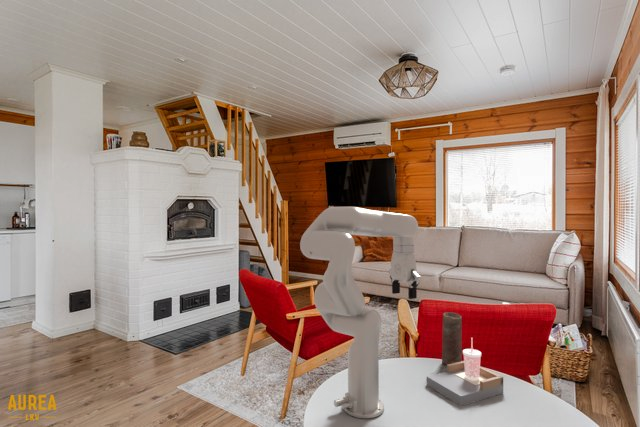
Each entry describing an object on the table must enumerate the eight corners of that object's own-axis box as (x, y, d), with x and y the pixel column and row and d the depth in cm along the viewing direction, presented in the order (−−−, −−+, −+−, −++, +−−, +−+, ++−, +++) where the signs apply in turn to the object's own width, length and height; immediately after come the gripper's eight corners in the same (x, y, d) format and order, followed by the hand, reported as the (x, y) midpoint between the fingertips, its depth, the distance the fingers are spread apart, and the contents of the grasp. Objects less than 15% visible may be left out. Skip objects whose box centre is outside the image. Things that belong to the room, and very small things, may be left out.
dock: (461, 405, 119) (460, 388, 119) (426, 384, 134) (426, 369, 134) (503, 393, 127) (503, 376, 127) (466, 374, 142) (466, 360, 142)
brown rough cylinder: (459, 360, 155) (459, 312, 155) (464, 368, 148) (464, 317, 148) (440, 360, 156) (439, 311, 156) (444, 367, 148) (444, 316, 148)
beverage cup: (458, 375, 134) (458, 336, 134) (472, 372, 136) (472, 333, 136) (471, 382, 128) (471, 341, 128) (485, 379, 130) (485, 339, 130)
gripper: (381, 248, 145) (382, 292, 146) (410, 252, 130) (410, 301, 130) (397, 247, 149) (398, 290, 149) (427, 251, 133) (428, 299, 133)
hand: (404, 295), depth 139 cm, fingers open, 9 cm apart
